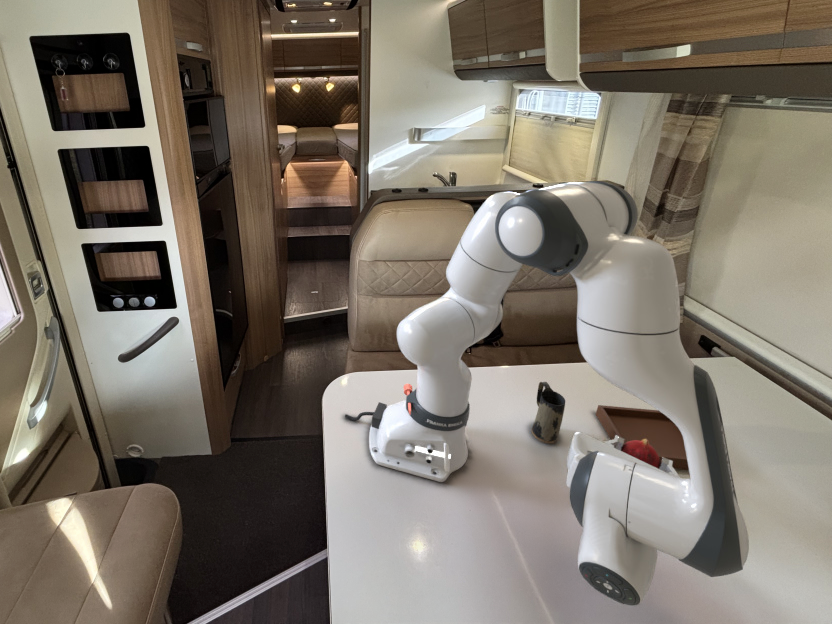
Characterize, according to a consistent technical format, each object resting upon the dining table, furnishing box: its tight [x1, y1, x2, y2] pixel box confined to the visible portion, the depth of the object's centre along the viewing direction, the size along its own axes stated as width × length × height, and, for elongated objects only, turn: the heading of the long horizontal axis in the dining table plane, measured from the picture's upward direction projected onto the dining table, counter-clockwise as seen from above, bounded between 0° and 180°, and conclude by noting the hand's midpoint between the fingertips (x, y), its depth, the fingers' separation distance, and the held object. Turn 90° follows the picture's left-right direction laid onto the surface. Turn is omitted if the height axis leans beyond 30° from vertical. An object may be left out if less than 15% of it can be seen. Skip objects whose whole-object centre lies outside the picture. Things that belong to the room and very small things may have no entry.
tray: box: [595, 404, 689, 471], centre depth 99 cm, size 18×15×3 cm
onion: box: [621, 439, 660, 469], centre depth 77 cm, size 6×6×8 cm
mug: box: [531, 381, 566, 444], centre depth 100 cm, size 8×6×12 cm
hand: (641, 450), depth 77 cm, fingers closed on onion, 6 cm apart
